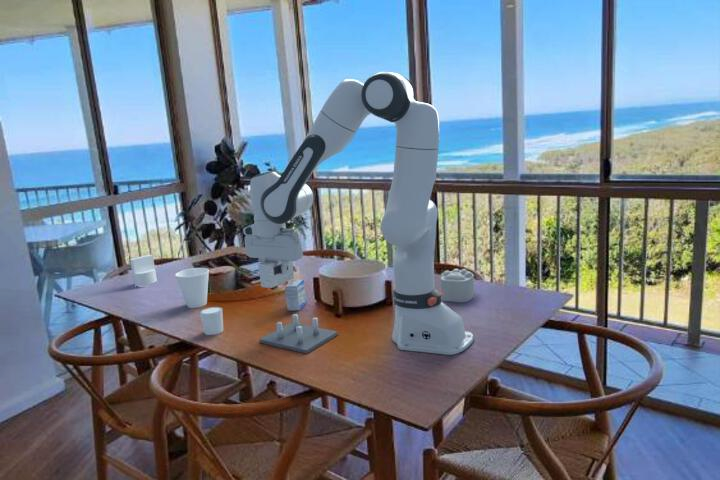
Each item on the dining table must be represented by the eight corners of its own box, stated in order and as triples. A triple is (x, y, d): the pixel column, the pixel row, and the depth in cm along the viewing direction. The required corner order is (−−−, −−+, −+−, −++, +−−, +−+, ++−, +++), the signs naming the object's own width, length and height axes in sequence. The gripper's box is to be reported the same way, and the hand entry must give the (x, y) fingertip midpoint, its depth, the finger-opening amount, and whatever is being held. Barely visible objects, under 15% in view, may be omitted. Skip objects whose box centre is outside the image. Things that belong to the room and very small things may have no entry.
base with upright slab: (152, 279, 229) (147, 253, 226) (160, 283, 222) (156, 256, 220) (131, 285, 223) (126, 258, 220) (139, 288, 216) (134, 261, 214)
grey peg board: (337, 334, 153) (336, 317, 151) (307, 353, 141) (305, 334, 140) (291, 325, 163) (289, 308, 162) (259, 342, 152) (257, 324, 150)
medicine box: (299, 310, 175) (297, 286, 173) (287, 310, 176) (284, 286, 174) (306, 302, 183) (304, 279, 181) (294, 302, 184) (292, 279, 182)
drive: (294, 278, 159) (291, 256, 157) (271, 288, 151) (267, 264, 150) (284, 277, 161) (281, 255, 160) (261, 286, 153) (257, 263, 152)
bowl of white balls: (438, 300, 175) (437, 275, 173) (448, 288, 186) (447, 265, 184) (469, 302, 170) (468, 277, 168) (477, 290, 182) (477, 266, 180)
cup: (208, 297, 198) (203, 265, 195) (218, 304, 188) (213, 271, 186) (176, 304, 192) (171, 272, 189) (185, 313, 182) (179, 279, 179)
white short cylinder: (206, 327, 166) (203, 307, 165) (227, 326, 166) (224, 305, 165) (199, 336, 160) (196, 315, 158) (221, 335, 159) (218, 313, 158)
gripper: (304, 226, 149) (310, 272, 152) (254, 224, 161) (260, 267, 164) (289, 231, 144) (295, 278, 147) (239, 229, 156) (245, 273, 159)
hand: (276, 273), depth 156 cm, fingers closed on drive, 4 cm apart
